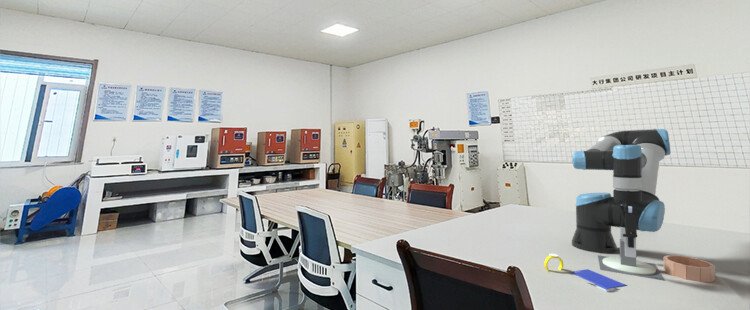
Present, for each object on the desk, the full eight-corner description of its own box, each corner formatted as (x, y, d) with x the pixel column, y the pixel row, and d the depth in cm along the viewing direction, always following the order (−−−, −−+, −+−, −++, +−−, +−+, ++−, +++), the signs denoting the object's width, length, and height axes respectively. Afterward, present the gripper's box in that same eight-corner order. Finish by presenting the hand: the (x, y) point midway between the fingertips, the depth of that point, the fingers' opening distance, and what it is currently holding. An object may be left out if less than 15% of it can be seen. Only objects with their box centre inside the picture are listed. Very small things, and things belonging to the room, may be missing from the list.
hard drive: (569, 271, 98) (606, 288, 86) (588, 268, 100) (627, 284, 88) (569, 276, 98) (606, 293, 86) (588, 273, 100) (627, 289, 88)
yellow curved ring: (559, 270, 102) (560, 253, 102) (564, 274, 99) (565, 256, 99) (542, 270, 102) (543, 253, 102) (547, 273, 99) (548, 256, 99)
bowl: (668, 279, 93) (668, 263, 93) (660, 267, 102) (660, 253, 102) (720, 287, 87) (720, 270, 87) (707, 274, 96) (706, 259, 96)
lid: (603, 269, 100) (603, 242, 100) (601, 256, 112) (601, 233, 111) (660, 278, 92) (660, 250, 92) (651, 264, 103) (651, 238, 103)
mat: (600, 271, 100) (600, 269, 100) (597, 257, 113) (597, 255, 113) (665, 283, 91) (665, 280, 91) (654, 266, 104) (654, 263, 104)
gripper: (648, 194, 89) (649, 264, 89) (636, 186, 109) (636, 243, 110) (616, 193, 93) (617, 259, 94) (610, 185, 114) (610, 239, 114)
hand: (627, 251), depth 102 cm, fingers open, 13 cm apart
